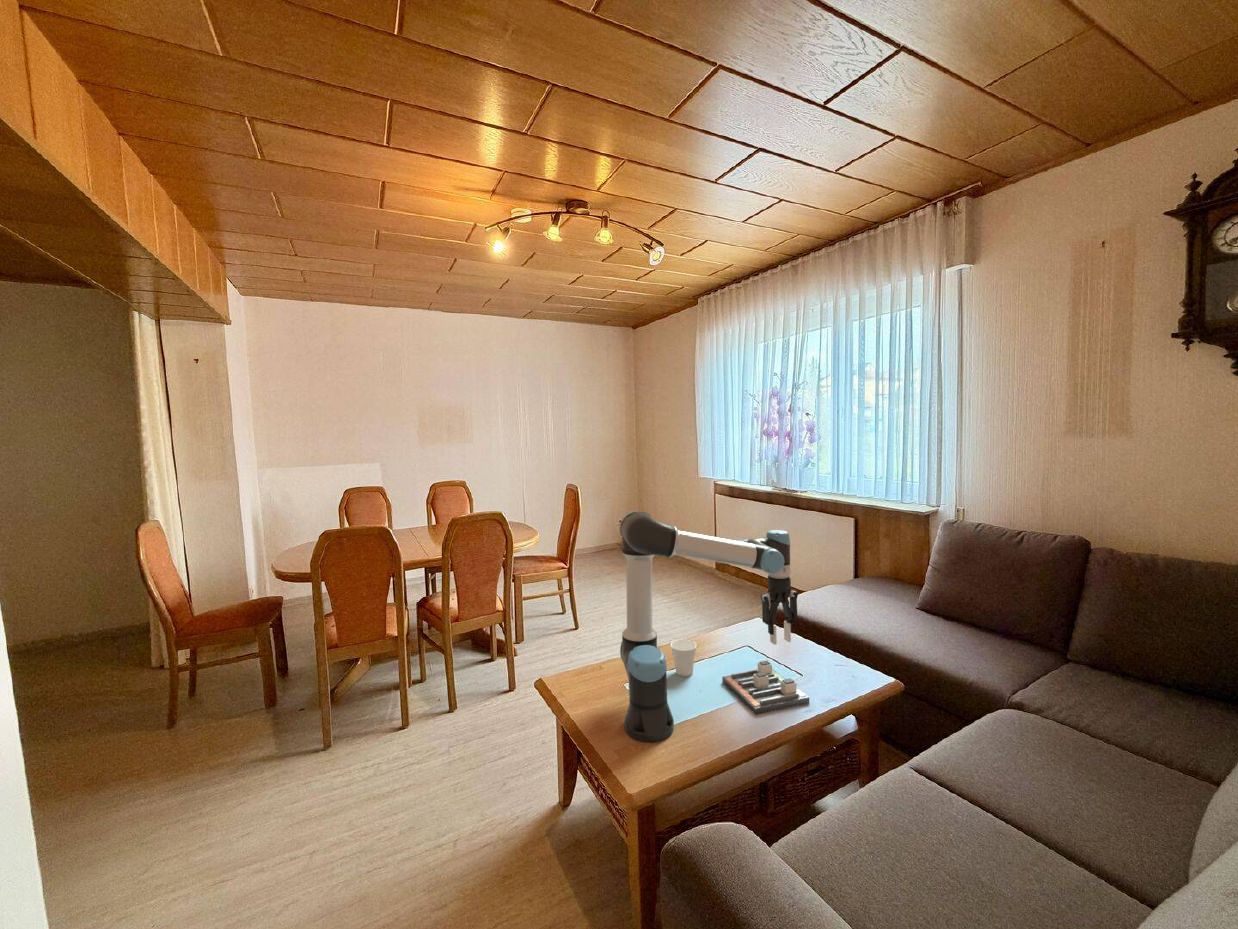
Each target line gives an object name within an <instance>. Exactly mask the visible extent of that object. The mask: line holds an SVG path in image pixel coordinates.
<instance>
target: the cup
mask: <svg viewBox="0 0 1238 929" xmlns="http://www.w3.org/2000/svg"><path fill="white" fill-rule="evenodd" d="M669 645H670V648H671V652H672V656H673V662H674V668H675V672H676V675H678V676H679V677H684V678H685V677H691V675H693V672H694V668H695V667H694V665H695V658H696V651H697V647H698V646H697V643H696V642H695V641H693V640H689V639H675V640H673V641H672V642H671V643H670V644H669Z"/></svg>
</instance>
